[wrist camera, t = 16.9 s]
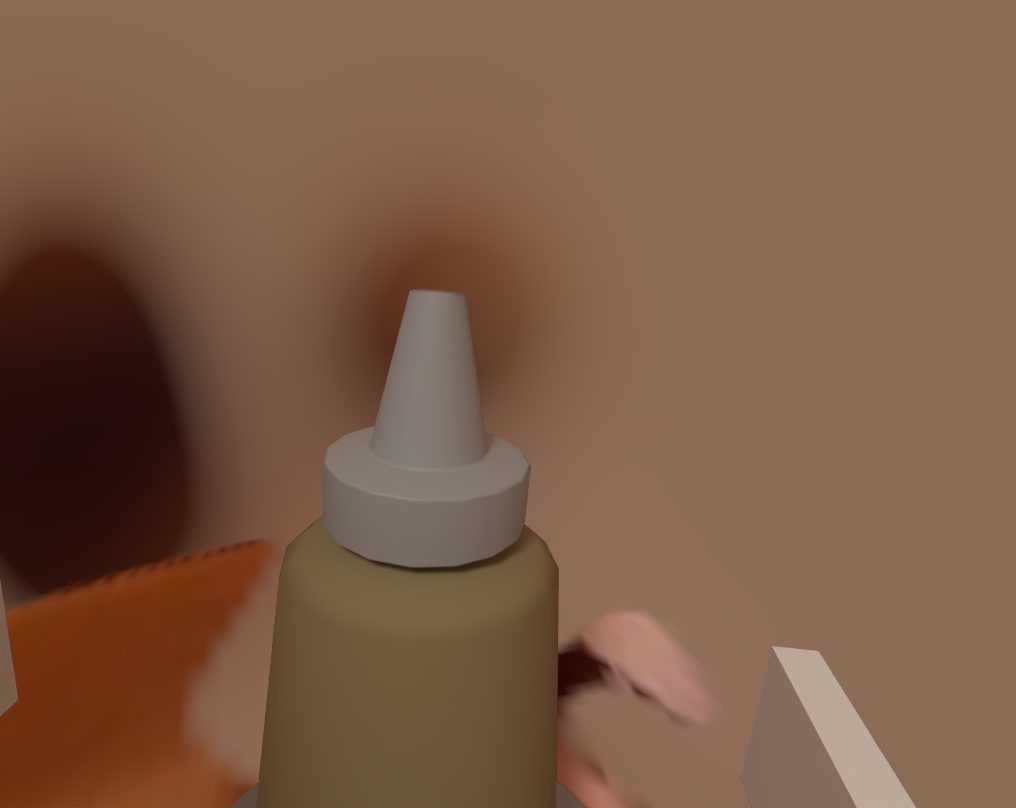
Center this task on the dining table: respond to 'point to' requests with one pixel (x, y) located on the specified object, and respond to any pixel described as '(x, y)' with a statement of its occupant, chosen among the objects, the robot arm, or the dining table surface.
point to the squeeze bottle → (417, 606)
